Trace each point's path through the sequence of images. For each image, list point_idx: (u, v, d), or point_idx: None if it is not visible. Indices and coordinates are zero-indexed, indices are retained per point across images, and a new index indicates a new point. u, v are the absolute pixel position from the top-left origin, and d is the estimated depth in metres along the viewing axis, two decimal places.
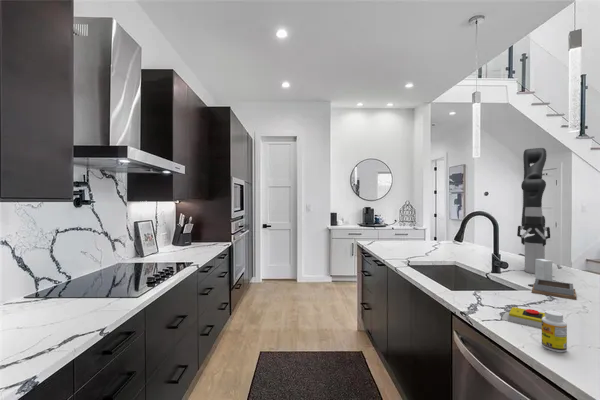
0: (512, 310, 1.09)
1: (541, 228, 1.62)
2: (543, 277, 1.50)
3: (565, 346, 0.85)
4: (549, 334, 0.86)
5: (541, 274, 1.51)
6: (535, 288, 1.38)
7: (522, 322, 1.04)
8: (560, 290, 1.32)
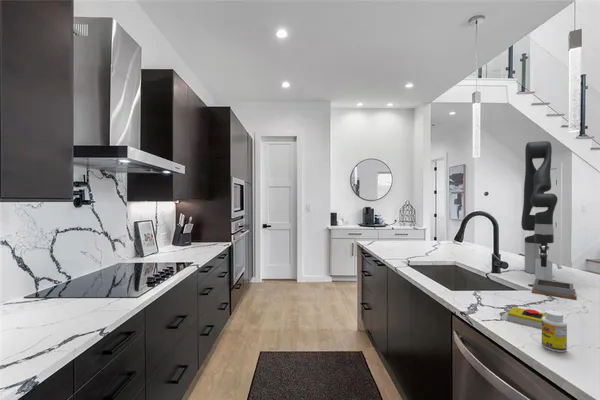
0: (512, 310, 1.09)
1: None
2: (543, 277, 1.50)
3: (565, 346, 0.85)
4: (549, 334, 0.86)
5: (541, 274, 1.51)
6: (535, 288, 1.38)
7: (521, 322, 1.04)
8: (560, 290, 1.32)
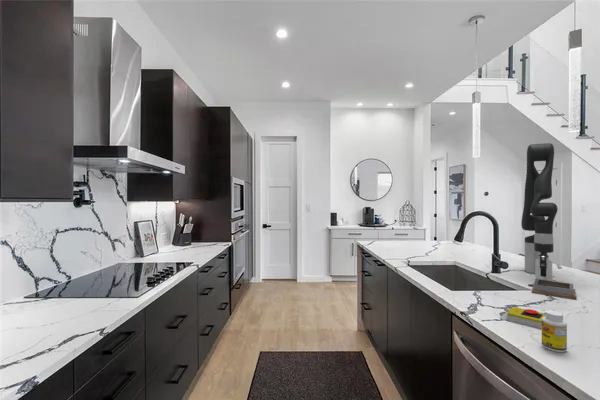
0: (511, 310, 1.09)
1: None
2: (543, 277, 1.50)
3: (565, 346, 0.85)
4: (549, 334, 0.86)
5: None
6: (535, 288, 1.38)
7: (520, 322, 1.04)
8: (560, 290, 1.32)
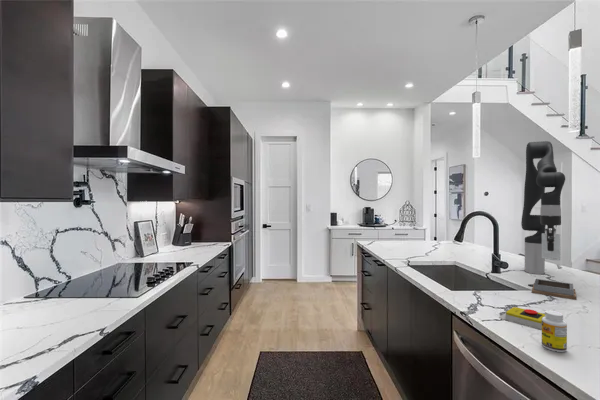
0: (511, 309, 1.10)
1: None
2: (550, 251, 1.39)
3: (565, 346, 0.85)
4: (549, 334, 0.86)
5: None
6: (535, 288, 1.38)
7: (518, 321, 1.04)
8: (560, 290, 1.32)
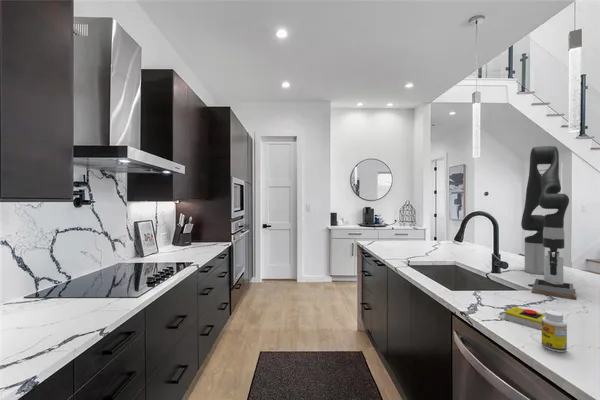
0: (511, 309, 1.10)
1: None
2: (553, 275, 1.36)
3: (565, 346, 0.85)
4: (549, 334, 0.86)
5: None
6: (535, 288, 1.38)
7: (517, 321, 1.05)
8: (560, 290, 1.32)
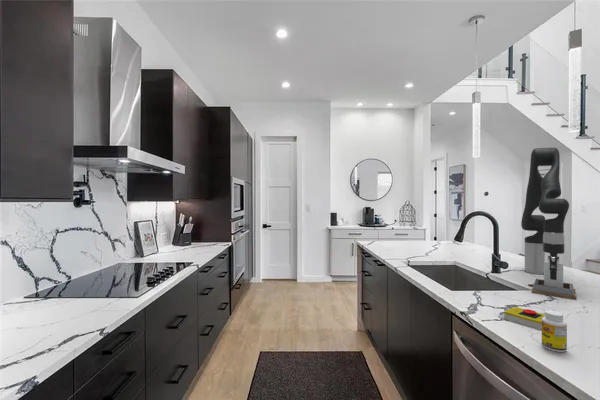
0: (511, 309, 1.10)
1: None
2: (553, 282, 1.36)
3: (565, 346, 0.85)
4: (549, 334, 0.86)
5: None
6: (535, 288, 1.38)
7: (516, 320, 1.05)
8: (560, 290, 1.32)
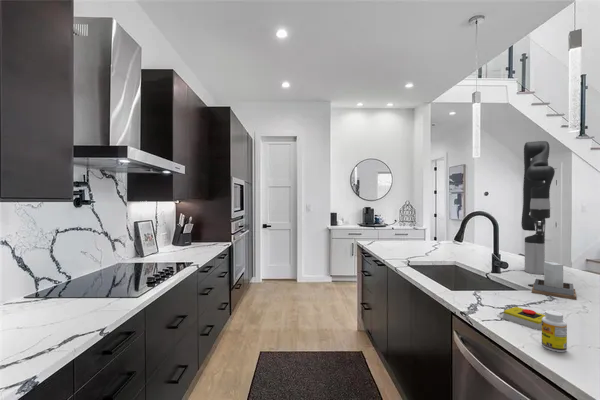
0: (511, 309, 1.10)
1: None
2: (553, 282, 1.36)
3: (565, 346, 0.85)
4: (549, 334, 0.86)
5: (550, 278, 1.38)
6: (535, 288, 1.38)
7: (514, 320, 1.05)
8: (560, 290, 1.32)
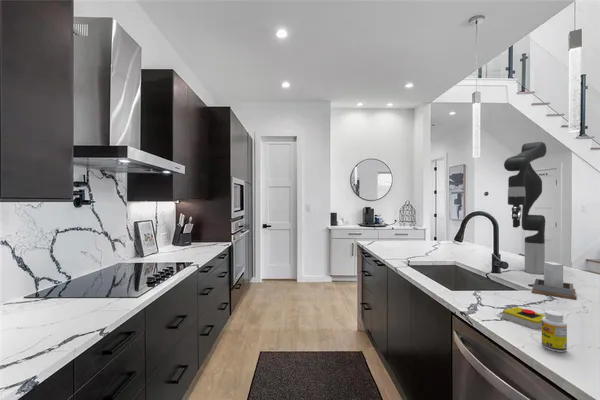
0: (511, 309, 1.10)
1: None
2: (553, 282, 1.36)
3: (565, 346, 0.85)
4: (549, 334, 0.86)
5: (550, 278, 1.38)
6: (535, 288, 1.38)
7: (513, 320, 1.06)
8: (560, 290, 1.32)
